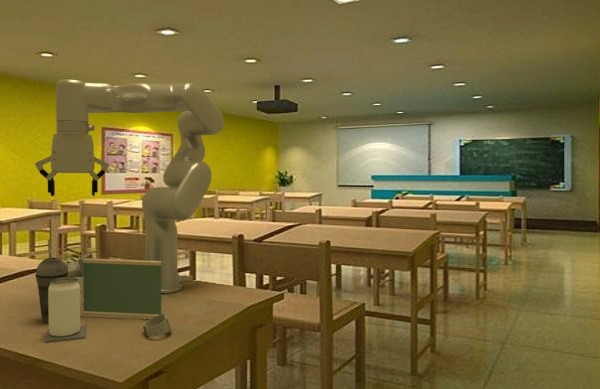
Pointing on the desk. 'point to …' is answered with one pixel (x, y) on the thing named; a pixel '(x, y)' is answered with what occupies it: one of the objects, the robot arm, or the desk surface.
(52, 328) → the can
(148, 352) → the desk surface
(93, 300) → the chalkboard panel
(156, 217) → the robot arm
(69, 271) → the voltmeter
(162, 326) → the wristwatch
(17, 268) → the desk surface
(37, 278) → the beverage cup
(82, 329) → the grey mat
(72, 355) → the desk surface
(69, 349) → the desk surface
